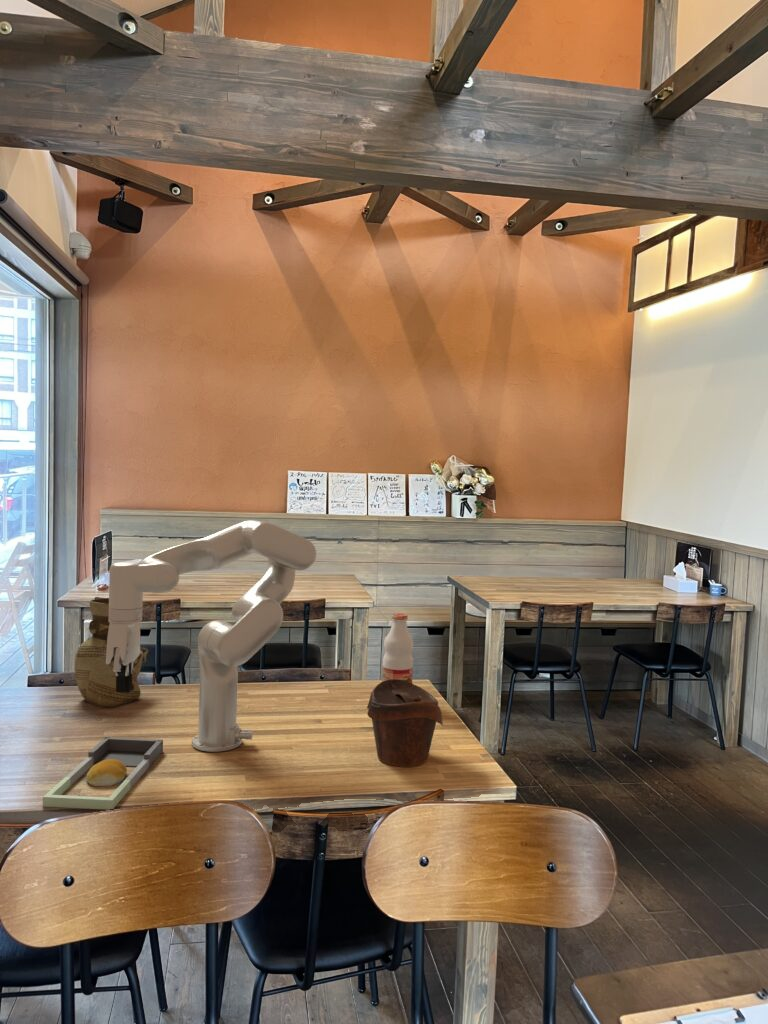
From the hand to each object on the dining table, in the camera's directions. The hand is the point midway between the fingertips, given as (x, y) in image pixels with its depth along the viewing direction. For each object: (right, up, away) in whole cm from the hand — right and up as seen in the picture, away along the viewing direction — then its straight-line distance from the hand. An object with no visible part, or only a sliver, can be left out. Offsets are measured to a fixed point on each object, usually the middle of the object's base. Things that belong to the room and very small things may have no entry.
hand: (123, 691), depth 174 cm
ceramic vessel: (-22, -14, +48) cm, 54 cm away
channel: (-1, -18, -8) cm, 19 cm away
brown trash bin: (+67, -19, +10) cm, 70 cm away
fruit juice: (+66, -17, +53) cm, 86 cm away
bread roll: (-1, -18, -9) cm, 20 cm away
